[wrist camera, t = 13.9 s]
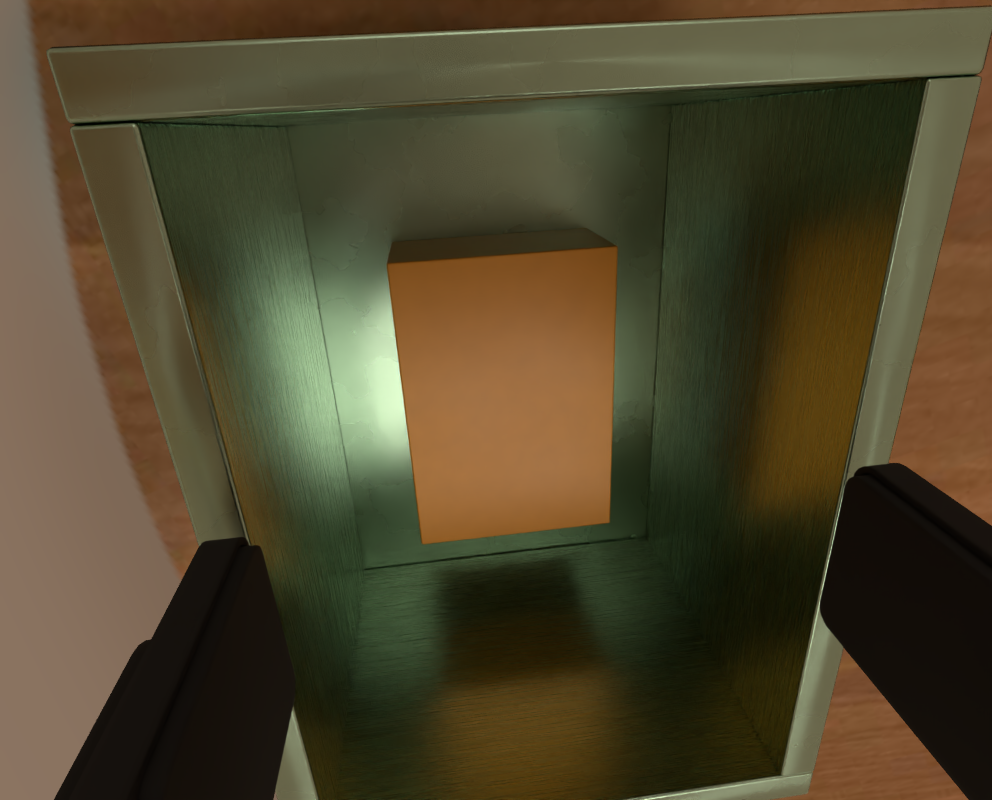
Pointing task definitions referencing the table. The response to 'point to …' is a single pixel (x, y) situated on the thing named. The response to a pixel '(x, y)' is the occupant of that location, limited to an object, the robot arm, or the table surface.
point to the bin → (637, 367)
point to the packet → (507, 379)
